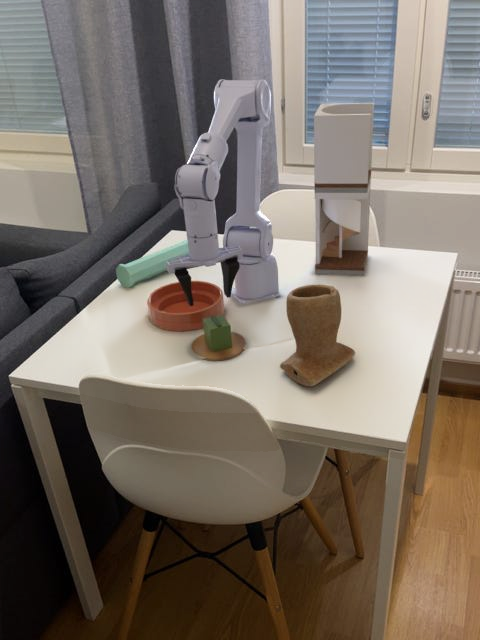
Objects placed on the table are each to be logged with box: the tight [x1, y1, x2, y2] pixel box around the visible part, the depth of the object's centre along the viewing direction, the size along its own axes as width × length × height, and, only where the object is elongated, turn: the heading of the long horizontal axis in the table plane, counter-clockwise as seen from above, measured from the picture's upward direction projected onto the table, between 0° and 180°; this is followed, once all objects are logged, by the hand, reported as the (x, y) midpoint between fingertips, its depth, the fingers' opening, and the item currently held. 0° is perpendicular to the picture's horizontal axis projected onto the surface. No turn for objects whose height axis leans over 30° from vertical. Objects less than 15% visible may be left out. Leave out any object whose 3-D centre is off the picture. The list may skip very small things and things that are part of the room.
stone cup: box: [279, 283, 356, 387], centre depth 126 cm, size 15×12×15 cm
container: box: [115, 239, 189, 288], centre depth 170 cm, size 6×6×25 cm
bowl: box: [146, 280, 225, 332], centre depth 150 cm, size 16×16×4 cm
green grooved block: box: [203, 314, 232, 352], centre depth 137 cm, size 4×5×5 cm
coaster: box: [190, 331, 247, 362], centre depth 139 cm, size 11×11×1 cm
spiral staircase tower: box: [313, 102, 375, 277], centre depth 156 cm, size 11×11×35 cm
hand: (209, 299), depth 136 cm, fingers open, 7 cm apart
